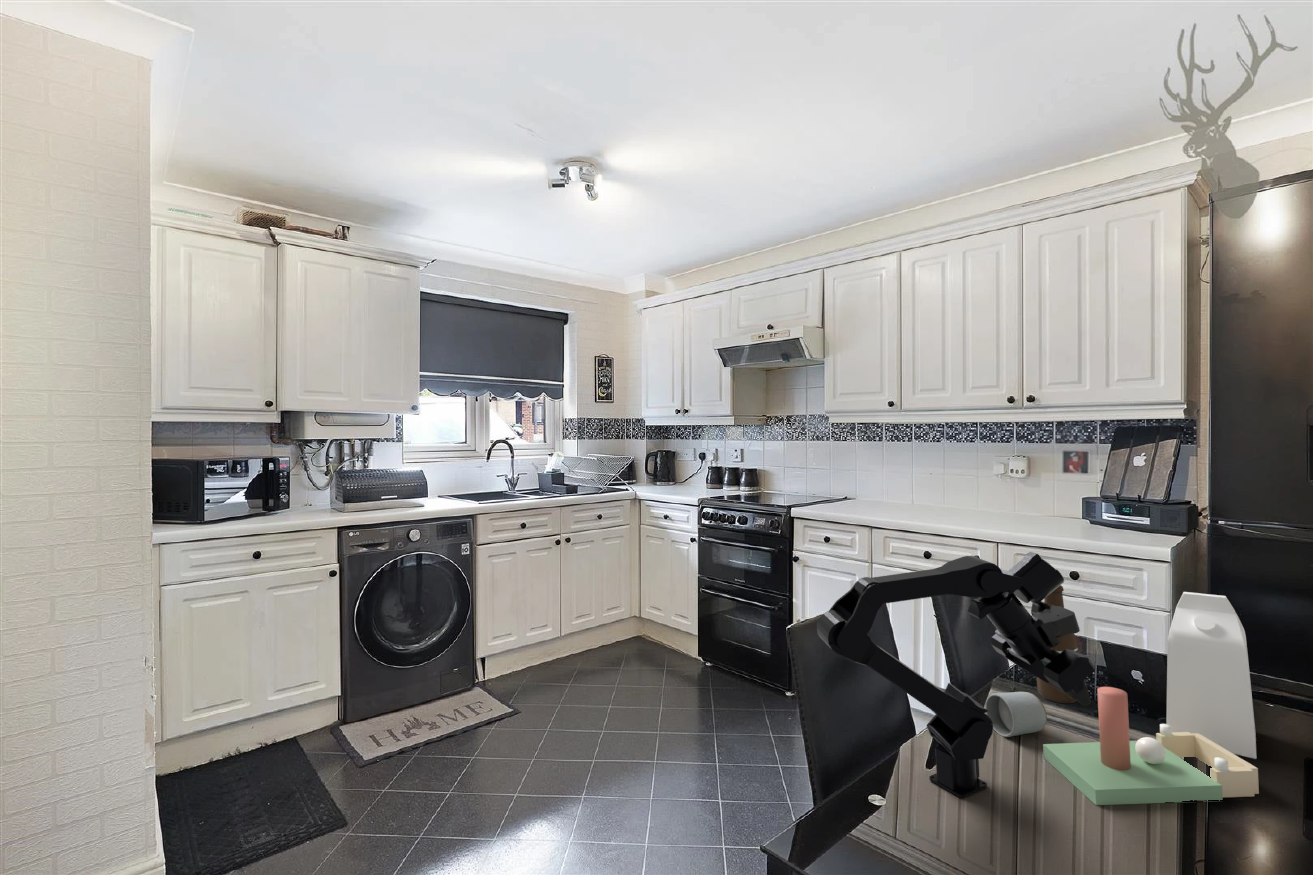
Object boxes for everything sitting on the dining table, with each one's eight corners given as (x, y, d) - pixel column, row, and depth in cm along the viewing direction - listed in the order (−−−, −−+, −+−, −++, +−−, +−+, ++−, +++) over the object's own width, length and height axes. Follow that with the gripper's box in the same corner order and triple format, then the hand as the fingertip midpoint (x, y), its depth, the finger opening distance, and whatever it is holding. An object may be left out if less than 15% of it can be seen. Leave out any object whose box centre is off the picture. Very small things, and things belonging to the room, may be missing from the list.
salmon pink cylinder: (1121, 772, 101) (1118, 698, 101) (1095, 761, 105) (1092, 690, 105) (1136, 765, 103) (1132, 693, 103) (1109, 754, 107) (1106, 684, 106)
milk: (1255, 732, 116) (1249, 591, 115) (1256, 758, 107) (1249, 607, 107) (1171, 714, 124) (1164, 583, 123) (1166, 738, 115) (1159, 597, 115)
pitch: (1096, 805, 97) (1095, 789, 97) (1043, 757, 111) (1043, 744, 111) (1222, 800, 97) (1221, 785, 97) (1154, 753, 111) (1153, 739, 111)
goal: (1218, 798, 97) (1217, 763, 97) (1156, 755, 110) (1154, 723, 110) (1263, 796, 97) (1262, 761, 97) (1195, 753, 110) (1194, 722, 110)
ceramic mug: (1051, 737, 118) (1049, 696, 118) (1014, 744, 116) (1012, 703, 116) (1008, 713, 128) (1006, 676, 128) (974, 720, 127) (971, 682, 127)
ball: (1158, 771, 101) (1157, 746, 101) (1130, 760, 105) (1129, 736, 105) (1171, 764, 103) (1170, 740, 103) (1144, 753, 106) (1143, 730, 106)
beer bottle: (1079, 692, 136) (1074, 581, 135) (1081, 706, 129) (1075, 590, 129) (1037, 686, 140) (1032, 578, 139) (1036, 699, 133) (1031, 587, 133)
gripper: (1090, 606, 96) (1150, 684, 97) (1014, 577, 115) (1065, 643, 115) (1035, 652, 96) (1095, 730, 96) (967, 615, 114) (1018, 681, 115)
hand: (1067, 692), depth 106 cm, fingers open, 9 cm apart
